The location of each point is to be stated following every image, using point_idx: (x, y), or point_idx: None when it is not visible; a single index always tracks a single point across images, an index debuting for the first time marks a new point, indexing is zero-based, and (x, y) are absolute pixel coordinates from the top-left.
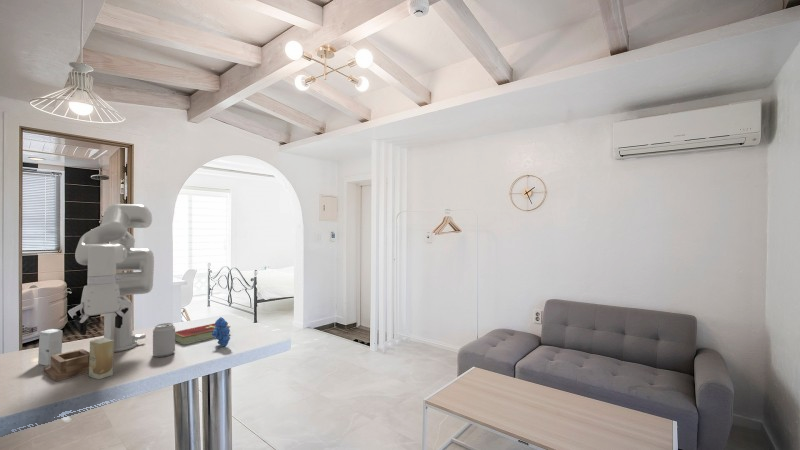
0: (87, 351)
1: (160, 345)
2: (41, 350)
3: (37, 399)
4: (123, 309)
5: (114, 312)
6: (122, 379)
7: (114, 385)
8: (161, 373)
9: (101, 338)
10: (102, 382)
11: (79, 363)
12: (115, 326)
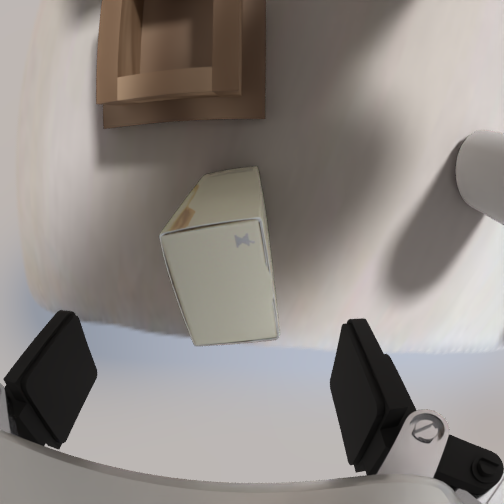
0: (239, 3)
1: (487, 210)
2: None
3: (66, 265)
4: (457, 488)
5: (376, 473)
6: None
7: None
8: None
9: (239, 235)
10: None
11: (179, 96)
12: (342, 336)
